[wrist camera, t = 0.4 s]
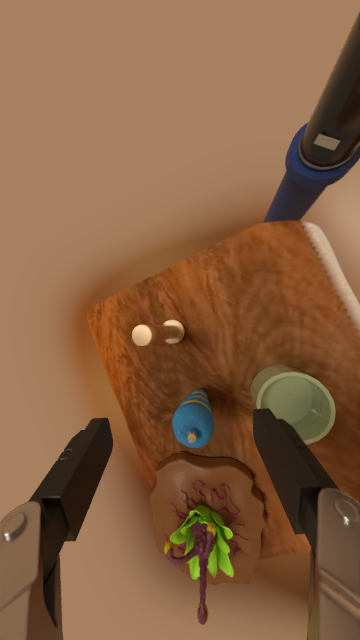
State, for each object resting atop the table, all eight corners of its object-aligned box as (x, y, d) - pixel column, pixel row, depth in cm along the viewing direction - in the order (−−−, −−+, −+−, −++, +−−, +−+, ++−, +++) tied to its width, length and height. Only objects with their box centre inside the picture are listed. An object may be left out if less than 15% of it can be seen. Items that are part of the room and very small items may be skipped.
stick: (169, 315, 34) (134, 307, 20) (189, 327, 34) (168, 327, 19) (158, 335, 35) (116, 342, 20) (177, 347, 34) (148, 363, 19)
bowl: (268, 353, 31) (278, 359, 26) (327, 385, 29) (350, 398, 24) (239, 402, 31) (244, 416, 26) (295, 437, 29) (311, 459, 24)
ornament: (184, 379, 33) (159, 421, 19) (210, 373, 32) (206, 412, 18) (191, 406, 33) (172, 471, 18) (218, 401, 32) (220, 465, 17)
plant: (152, 550, 33) (122, 659, 22) (153, 445, 34) (124, 502, 23) (264, 580, 29) (294, 732, 18) (263, 461, 30) (290, 539, 19)
